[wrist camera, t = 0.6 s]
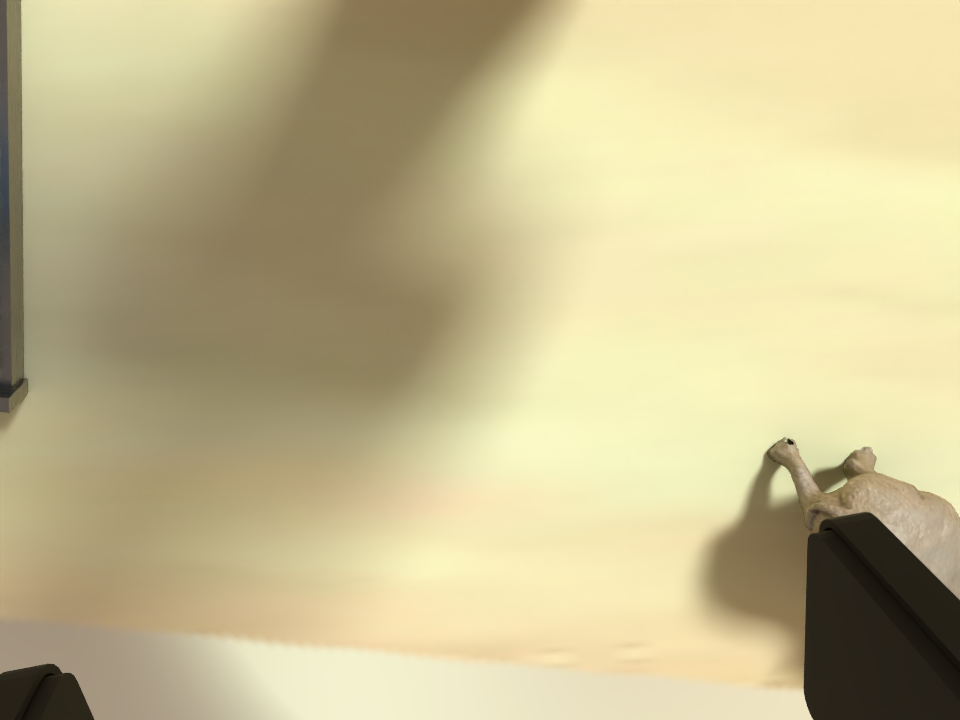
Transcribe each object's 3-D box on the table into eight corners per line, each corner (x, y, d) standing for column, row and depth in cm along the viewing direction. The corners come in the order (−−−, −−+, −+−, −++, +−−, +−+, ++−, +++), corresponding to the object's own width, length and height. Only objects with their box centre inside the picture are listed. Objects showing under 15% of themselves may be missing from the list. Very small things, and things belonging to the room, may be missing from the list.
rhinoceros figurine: (879, 368, 45) (1068, 626, 38) (879, 437, 57) (1024, 645, 49) (751, 434, 47) (907, 694, 39) (776, 488, 58) (901, 698, 51)
